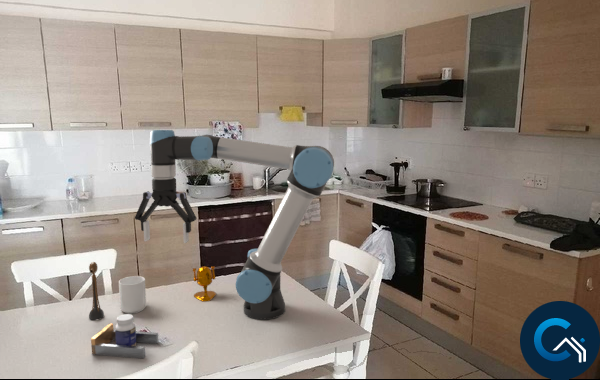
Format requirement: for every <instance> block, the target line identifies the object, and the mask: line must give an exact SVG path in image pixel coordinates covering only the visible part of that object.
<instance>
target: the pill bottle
mask: <svg viewBox="0 0 600 380" xmlns="http://www.w3.org/2000/svg"><path fill="white" fill-rule="evenodd" d="M116 323H117V324H115V327H114V328H115V329H114V330H115V333H116V341H115V345H127V346H137V342H136V323H135V322H134V315H133V314H132V313H131V314H129V313H125V314H124V313H123V314H121V315H120V314H119V315H118V316H117V317H116Z"/></svg>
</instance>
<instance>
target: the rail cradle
mask: <svg viewBox="0 0 600 380" xmlns="http://www.w3.org/2000/svg"><path fill="white" fill-rule="evenodd" d="M112 341H113V342H114V341H115V342H116V333H115V329H114V323H108V324H107V325H106V326H105V327H103V328H102V329H101V330H100V331H98V332H97V333H96V334H95V335H93V336H92V337H91V338H90V342H91V343H90V344H91V355H92V354H96V355H95V356H105V357H118V358H119V357H121V358H129V359H131V358H132V359H133V358H134V359H145V358H146V347H145V346H137V345H136V346H127V345H116V344H113V343H111V342H112ZM136 343H141V344H143V343H144V344H158V343H159V332H155V331H154V332H153V331H138V330H137V331H136Z"/></svg>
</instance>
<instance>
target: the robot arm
mask: <svg viewBox="0 0 600 380" xmlns="http://www.w3.org/2000/svg"><path fill="white" fill-rule="evenodd" d="M149 134H150V135H149V136H150V137H149V147H150V159H151V160H150V161H151V163H150V164H151V167H150V168H151V171H150V172H151V177H152V179H151V187H152V189H151V190H152V191H149V190H148V191H144V192H143V193H142V200H141V202H140V205H139V207H138V209H137V212H136V214H135V215H134V219H135V220H138V221H140V228H141V232H143V242H148V241H150V240H151V232H150V220H148V218H149V217H151V215H152V213H154V211H155V210H156V208H157V207H166V208H167V207H168V208H169V207H171V208H172V209H173V210H174V211H175V212H176V213H177V214H178V216H179V217H180V219H182V220H183V223H182V237H183V244H187V243H189V242H190V239H189V238H190V237H189V236H190V233H191V232H192V223H193V222H195V221H197V216H196V215H195V212H194V209H192V207H191V204H190V202H189V201H188V198H187V192H184V191H183V192H181V193H178V192H177V179H176V175H177V174H176V161H177V160H184V161H185V160H187V161H190V160H191V161H199V162H200V161H209V160H210V159H217V160H224V161H225V160H226V161H230V162H231V161H232V162H236V163H237V162H239V163H244V164H252V165H258V166H265V167H271V168H277V169H278V168H279V169H284V170H289V171H290V172H289V174H288V176H287V179H286V182H287V185H288V187H287V189H286V191H285V193H284V196H283V197H282V199H281V201H280V203H279V206H278V207H277V209H276V212H275V213H274V215H273V217H272V220H271V222H270V224H269V226H268V227H267V230H266V231H265V233H264V235H263V238H262V240H261V242H260V244H259V246H258V248H251V249H250V250H248V252H247V255H246V257H247V260H245V261H246V262H245V264H244V266H243V268H242V269H241V272H239V274H238V275H237V276H236V280H235V290H236V292H237V294H238V296H239V297H240V298H241V299H242V300H243V301H244V302H243V303H244V304H243V314H244V315H245V316H246V317H248V318H251V319H255V320H272V319H277V318H278V317H281V316H283V315H284V314H285V312H286V303H285V299H284V296H283V293H282V290H281V273H282V271H283V266H282V260H283V258H284V257H285V255H286V253H287V251H288V248H289V247H290V245H291V244H292V241H293V238H294V237H295V236H296V233H297V232H298V229H299V227H300V225H301V223H302V221H303V220H304V217H305V216H306V214H307V211H308V209H309V207H310V206H311V204H312V202H313V200H314V199H316V198H319V197H320V196H321V195H322V193H323V191H324V190H325V187H326V185H327V184H328V181H329V180H330V179H331V177H332V175H333V172H334V167H335V160H334V157H333V155H332V153H331V152H330V151H329V149H327V148H326V147H323V146H320V145H299V144H295V145H294V146H291V147H290V146H284V145H277V144H270V143H264V142H263V143H262V142H256V141H251V140H249V141H248V140H242V139H234V138H228V137H220V136H215V135H212V134H202V135H195V136H189V135H187V136H186V135H185V136H180V135H176V134H175V131H174V130H173V129H153V130H151V131H150V133H149ZM151 198H152V199H153V202H152V203H151V204H150V206H149V207H148V208H147V206H148V203H149V202H150V199H151ZM177 200H180V202H181V205H182V206H181V205H180V203H179V202H178V201H177ZM182 207H183V208H182ZM146 209H147V210H146ZM145 210H146V211H145Z"/></svg>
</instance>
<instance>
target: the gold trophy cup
mask: <svg viewBox="0 0 600 380" xmlns="http://www.w3.org/2000/svg"><path fill="white" fill-rule="evenodd" d="M215 268H216V267H215V266H211V268H210V267H209V266H205V265H204V266H201V267H199V268H198V270H197V268H196V267H195V268H192V273H193V280H192V281H194V282H196V284H197V285H199V286H200V287H202V288H203V291H202V290H201V291H198V292H196V293H194V294H193V298H195V299H196V300H199V301H200V302H204V303H206V302H210V301H212V300H213V299H214V298H215V297H216V295H217V294H216V292H215V291H214V290H208V286H210V285H211V284H212V283H213V280H216V275H215ZM196 271H197V272H196Z"/></svg>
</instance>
